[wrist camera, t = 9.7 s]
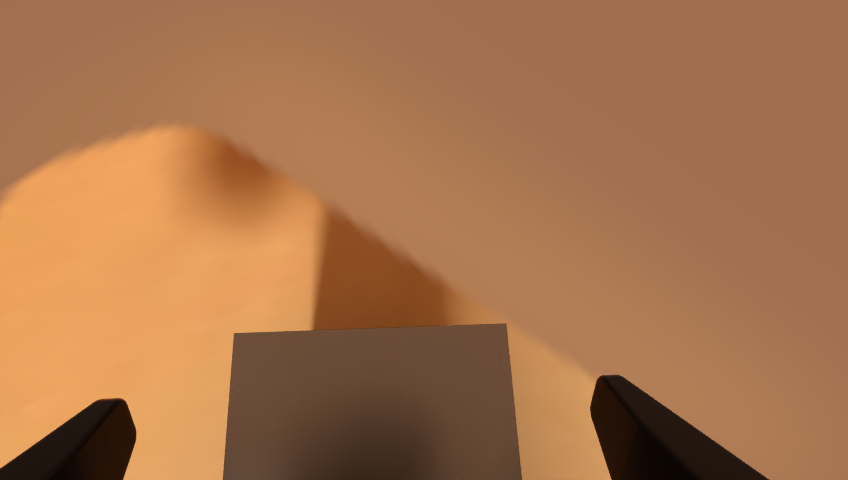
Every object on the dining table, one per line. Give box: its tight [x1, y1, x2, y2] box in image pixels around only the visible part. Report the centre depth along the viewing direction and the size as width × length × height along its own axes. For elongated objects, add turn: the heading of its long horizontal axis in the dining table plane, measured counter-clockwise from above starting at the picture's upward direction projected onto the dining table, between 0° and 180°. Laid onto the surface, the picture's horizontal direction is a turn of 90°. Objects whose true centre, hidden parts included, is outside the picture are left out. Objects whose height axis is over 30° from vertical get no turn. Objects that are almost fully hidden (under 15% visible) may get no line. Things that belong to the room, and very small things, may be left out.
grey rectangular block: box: [223, 324, 522, 480], centre depth 15 cm, size 6×6×11 cm
